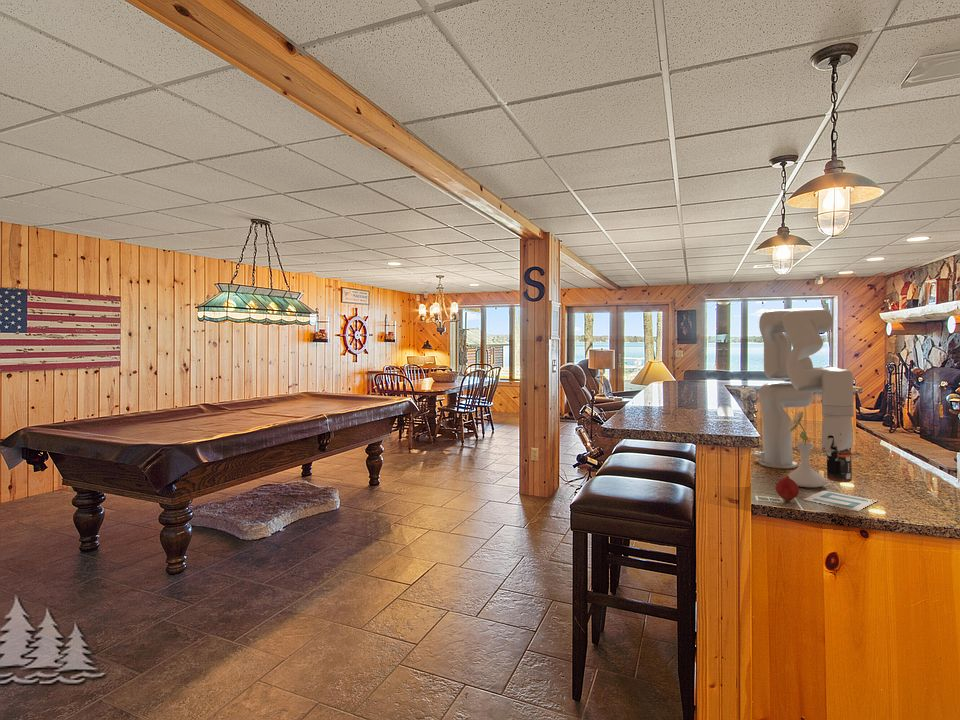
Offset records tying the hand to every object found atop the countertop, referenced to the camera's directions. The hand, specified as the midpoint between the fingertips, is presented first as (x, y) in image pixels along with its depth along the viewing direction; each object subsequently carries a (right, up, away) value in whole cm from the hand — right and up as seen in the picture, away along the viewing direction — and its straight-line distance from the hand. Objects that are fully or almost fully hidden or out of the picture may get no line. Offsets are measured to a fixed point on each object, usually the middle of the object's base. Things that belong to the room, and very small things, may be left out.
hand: (839, 471), depth 147 cm
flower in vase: (0, -9, +16) cm, 18 cm away
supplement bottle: (0, -3, 0) cm, 3 cm away
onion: (-14, -9, +1) cm, 17 cm away
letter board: (0, -9, 0) cm, 9 cm away
